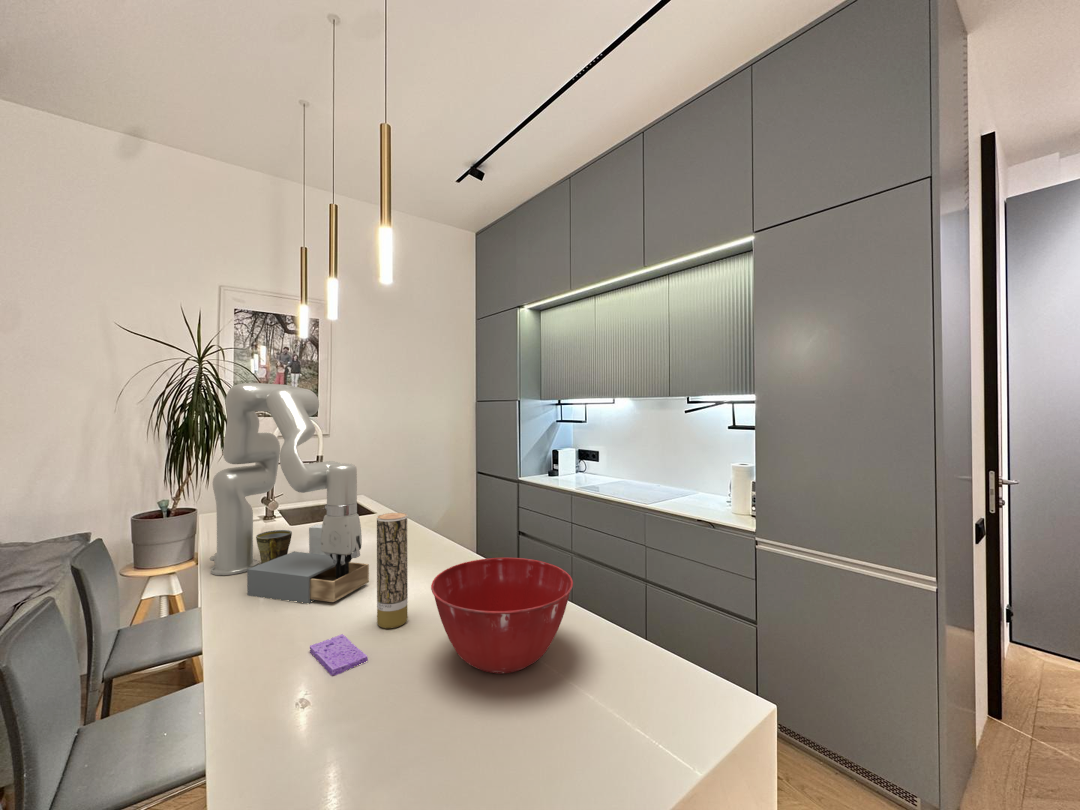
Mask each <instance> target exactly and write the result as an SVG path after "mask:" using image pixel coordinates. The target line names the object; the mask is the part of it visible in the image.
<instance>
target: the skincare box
mask: <svg viewBox="0 0 1080 810" xmlns="http://www.w3.org/2000/svg"><path fill="white" fill-rule="evenodd" d="M321 531H322V524H315V525H313V526H309V527H308V538H309V539H308V540H309V541H308V545H309V546H308V548H309V549H308V553H314V554H323V555H325V554H324V552H322V551H321Z"/></svg>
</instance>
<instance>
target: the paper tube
mask: <svg viewBox="0 0 1080 810" xmlns="http://www.w3.org/2000/svg"><path fill="white" fill-rule="evenodd" d="M408 584H409V583H408V513H405V512H386V513H383V514H378V515H377V517H376V614H377V615H376V621H377V622H376V623H377V625H378V626H379V627H380V628H382V629H395V628H399V627H401V626H403V625H404V624H405V623H406V622H407V621H408V618H409V617H408V602H409V601H408V599H409V598H408V589H409V588H408V586H409V585H408Z"/></svg>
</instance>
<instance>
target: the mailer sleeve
mask: <svg viewBox="0 0 1080 810" xmlns="http://www.w3.org/2000/svg"><path fill="white" fill-rule="evenodd" d="M335 566H336V564H334V563H333V559H332V558H331V557H330V556H328V555H323V554H314V553H309V552H304V551H303V552H302V551H292V552H290V553H287V554H286V555H284V556H281V557H278V558H276V559H273V560H270V561H268V562H265V563H263V564H262V563H259V565H257V566H255V567H252V568H249V569H247V571H246V573H247V575H246V576H247V577H246V578H247V579H246V580H247V584H246V585H247V590H246V591H247V593H246V594H247V596H249V597H250V596H251V597H256V596H257V598H263V597H265V598H264V599H270V598H272V599H271V600H276V599H281V600H280V601H283V600H289V601H288V602H290V601H297V602H303V603H302V604H304V603H309V604H311V603H312V602H311V601H313V600H314V599H310V578H311V577H314V576H316V575H318V574H320V573H322V572H324V571H326V570H329V569H331V568H333V567H335ZM297 602H296V603H297ZM310 602H311V603H310ZM313 602H314V601H313Z"/></svg>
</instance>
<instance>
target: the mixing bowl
mask: <svg viewBox="0 0 1080 810" xmlns="http://www.w3.org/2000/svg"><path fill="white" fill-rule="evenodd" d="M573 587H574V581H573V578H572V577H571V575H570V574H569V573H568V572H567V571H566V570H564V569H563V568H561V567H559V566H557V565H554V564H552V563H548V562H545V561H541V560H536V559H529V558H523V557H492V558H491V557H490V558H480V559H475V560H469V561H464V562H462V563H461V562H460V563H459V564H455V565H453V566H451V567H448V568H446V569H444V570H442V571H441V572H440V573H438V574H437V575H436V576H435V577H434V578H433V580H432V582H431V584H430V590H431V592H432V595H433V597H434V600H435V604H436V608H437V611H438V614H439V618H440V621H441V624H442V627H443V629H444V631H445V633H446V635H447V637H448V640H449V642H450V643H451V645H452V647H453V648H454V650H455V652H456V654H457V655H458V656H459V657H460V659H461V660H463V661H464V662H466V663H467V664H468V665H469V666H472V667H474V668H476V669H478V670H480V671H482V672H486V673H491V674H499V675H500V674H511V673H515V672H518V671H521V670H523V669H526V668H527V667H528V666H530V665H532V664H534V663H536V662H537V661H538V660H540V659H541V658H542V657H543V656H544V655H545V654H546V652H547V651H548V649H549V648H550V646H551V644H552V642H553V640H555V637H556V635H557V633H558V631H559V628H560V626H561V623H562V621H563V618H564V615H565V612H566V610H567V609H566V608H567V605H568V602H569V598H570V593H571V591H572V589H573Z"/></svg>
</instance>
